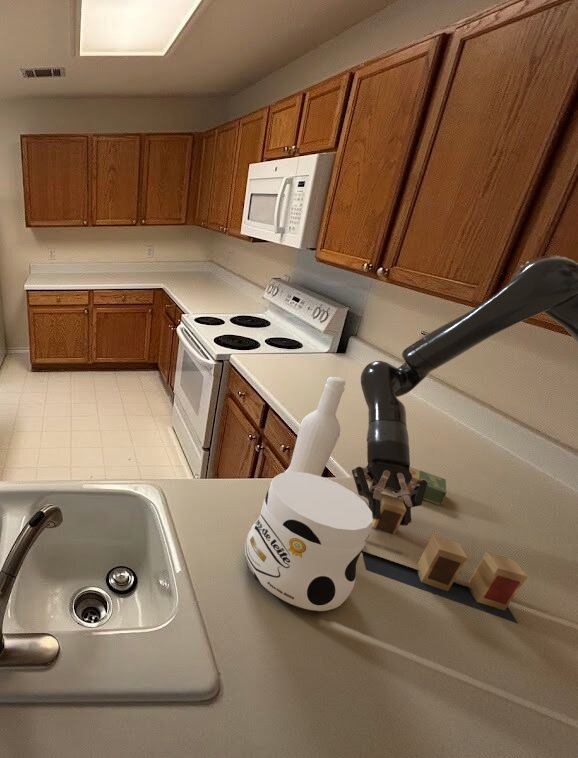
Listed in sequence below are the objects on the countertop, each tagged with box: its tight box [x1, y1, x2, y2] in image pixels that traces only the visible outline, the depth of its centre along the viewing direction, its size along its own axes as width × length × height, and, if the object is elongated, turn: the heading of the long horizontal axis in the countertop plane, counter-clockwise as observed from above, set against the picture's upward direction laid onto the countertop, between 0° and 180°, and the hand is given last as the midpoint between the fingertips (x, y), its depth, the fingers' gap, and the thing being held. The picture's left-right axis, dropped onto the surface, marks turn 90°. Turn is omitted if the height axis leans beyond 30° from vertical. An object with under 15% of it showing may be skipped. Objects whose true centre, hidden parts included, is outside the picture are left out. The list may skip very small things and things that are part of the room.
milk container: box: [244, 471, 373, 612], centre depth 72 cm, size 17×17×18 cm
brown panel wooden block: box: [415, 534, 468, 591], centre depth 75 cm, size 4×4×8 cm
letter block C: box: [467, 552, 528, 610], centre depth 72 cm, size 4×4×8 cm
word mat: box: [361, 550, 519, 625], centre depth 77 cm, size 22×8×1 cm, turn 64°
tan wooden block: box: [372, 492, 406, 535], centre depth 88 cm, size 4×4×8 cm
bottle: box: [283, 376, 346, 477], centre depth 95 cm, size 8×8×30 cm
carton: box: [366, 466, 448, 507], centre depth 106 cm, size 8×16×4 cm, turn 50°
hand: (389, 521), depth 86 cm, fingers closed on tan wooden block, 4 cm apart
